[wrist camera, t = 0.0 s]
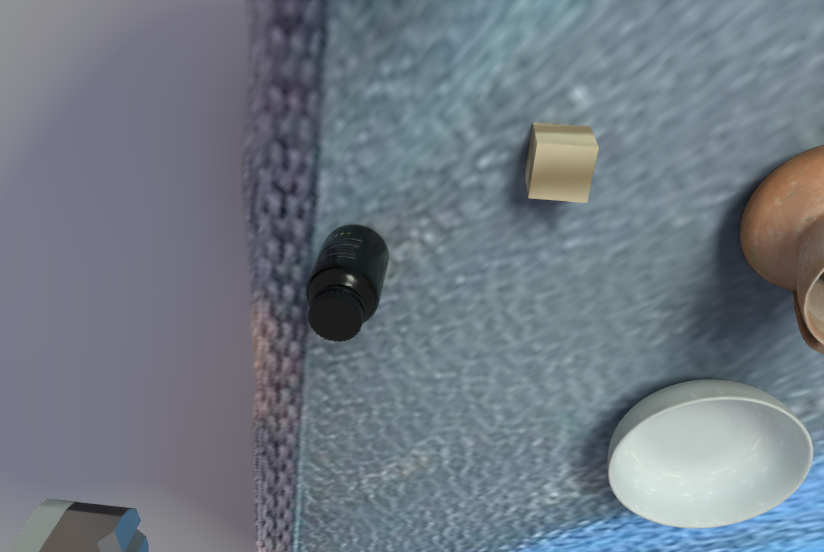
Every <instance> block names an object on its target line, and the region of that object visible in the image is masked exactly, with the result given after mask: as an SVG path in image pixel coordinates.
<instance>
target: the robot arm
mask: <svg viewBox="0 0 824 552" xmlns="http://www.w3.org/2000/svg"><path fill="white" fill-rule="evenodd" d="M140 521H141V520H140V517H139V515H138V512H137V510H136V509H135V508H126V507H117V506H108V505H99V504H89V503H81V502H77V501H67V500H57V499H46V500H45V501H44V502H42V503H41V504H40V505H39V506H38V507H36V509H35V510H34V512H33V513H32V514H31V516H30V517H29V519H28V520H27V522H26V523H25V525H24V526H23V527H22V529H21V530H20V532H19V533H18V535H17V536H16V537H15V539H14V540H13V542H12V543H11V545H10V546H9V547H8V549H7V550H6V552H148V542H147V538H146V536H145V535H144V534H143V533H141V532H140V531H139V530H137V527H138V525H139V523H140Z"/></svg>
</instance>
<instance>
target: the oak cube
mask: <svg viewBox="0 0 824 552" xmlns="http://www.w3.org/2000/svg"><path fill="white" fill-rule="evenodd" d="M598 150H599V147H598V144H597V142H596V140H595V137H594V135H593V132H592V130H591V128H590V127H589V126H575V125H561V124H547V123H533V125H532V132H531V138H530V145H529V151H528V157H527V164H526V170H525V179H526V186H527V193H528V198H532V199H545V200H558V201H571V202H583V203H587V200H588V195H589V191H590V186H591V182H592V177H593V172H594V168H595V163H596V159H597V154H598Z"/></svg>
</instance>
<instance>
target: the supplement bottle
mask: <svg viewBox="0 0 824 552" xmlns="http://www.w3.org/2000/svg"><path fill="white" fill-rule="evenodd" d="M388 259H389V254H388V249H387V246H386V244H385V242H384V240H383V239H382V238H381V237H380V235H378V234H377V233H376V232H375V231H373V230H372V229H370V228H367V227H365V226H361V225H346V226H342V227H340V228H338V229H336V230H334V231H333V232H332V233H331V234H330V235H329V236H328V238H327V239H326V241H325V243H324V245H323V247H322V250H321V252H320V255H319V257H318V259H317V262H316V264H315V267H314V269H313V271H312V274H311V276H310V279H309V281H308V284H307V288H306V297H307V301H308V304H309V306H310V309H309V312H308V314H309V315H308V319H309V323H310V326H311V327H312V328H313V330H314V331H315V332H316V334H318V335H320V337H323V338H324V339H328V340H330V341H340V342H341V341H346V340H349V339H351V338H353V337H354V336H355V335H357V334H358V332H359V331H360V329H361V327H362V324H363V323H364V322H366V321H367V320H369V319H370V318H371V317H372V316H373V315H374V313H375V312H376V310H377V307H378V304H379V301H380V296H381V292H382V288H383V283H384V279H385V274H386V270H387V266H388Z"/></svg>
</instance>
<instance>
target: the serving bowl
mask: <svg viewBox="0 0 824 552" xmlns="http://www.w3.org/2000/svg"><path fill="white" fill-rule="evenodd" d="M812 460H813V445H812V440H811V437H810V435H809V433H808V431H807V429H806V428H805V426H804V425H803V424H802V422H801V421H800V420H799V419H798V418H797V417H796V416H795V414H794V413H793V412H792V411H791V410H790V409H789V408H787V407H786V406H785V405H784V404H783V403H782V402H780V401H779V400H778V399H776V398H775V397H773V396H771V395H770V394H768V393H766V392H764V391H762V390H760V389H758V388H755V387H753V386H750V385H747V384H743V383H739V382H735V381H729V380H719V379H702V380H693V381H687V382H682V383H678V384H674V385H671V386H668V387H666V388H663V389H661V390H658V391H656V392H654V393H652V394H650V395H649V396H647V397H645V398H644V399H642V400H641V401H640V402H638V403H637V404H636V405H635V406H633V407H632V408H631V409H630V410H629V411H628V412H627V413H626V415H625V416H624V417H623V418H622V420H621V421H620V422H619V424H618V426H617V427H616V429H615V431H614V433H613V436H612V438H611V441H610V445H609V450H608V459H607V471H608V479H609V484H610V487H611V489H612V491H613V493H614V494H615V496H616V497H617V499H618V500H619V501H620V502H621V503H622V504H623V505H624V506H625V507H626V508H628V509H629V510H630V511H632V512H633V513H635V514H637V515H639V516H641V517H643V518H645V519H647V520H650V521H652V522H655V523H659V524H663V525H668V526H673V527H681V528H711V527H719V526H725V525H730V524H734V523H738V522H741V521H744V520H748V519H751V518H753V517H756V516H758V515H760V514H763V513H765V512H767V511H769V510H771V509H772V508H774V507H776V506H778V505H779V504H780V503H782V502H783V501H785V500H786V499H787V498H788V497H790V496H791V495H792V494H793V493H794V492H795V491H796V490H797V489H798V487H799V486H800V485H801V484H802V482H803V481H804V480H805V478H806V476H807V474H808V472H809V470H810V467H811V464H812Z"/></svg>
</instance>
